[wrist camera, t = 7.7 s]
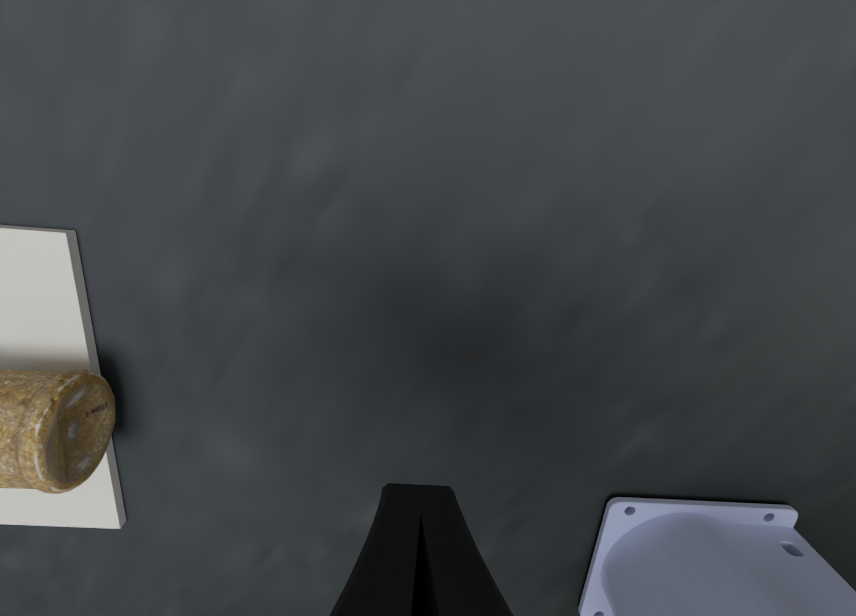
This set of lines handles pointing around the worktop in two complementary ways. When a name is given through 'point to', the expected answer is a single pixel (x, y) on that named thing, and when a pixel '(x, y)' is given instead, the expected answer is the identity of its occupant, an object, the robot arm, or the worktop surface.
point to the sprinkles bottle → (53, 428)
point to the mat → (52, 363)
